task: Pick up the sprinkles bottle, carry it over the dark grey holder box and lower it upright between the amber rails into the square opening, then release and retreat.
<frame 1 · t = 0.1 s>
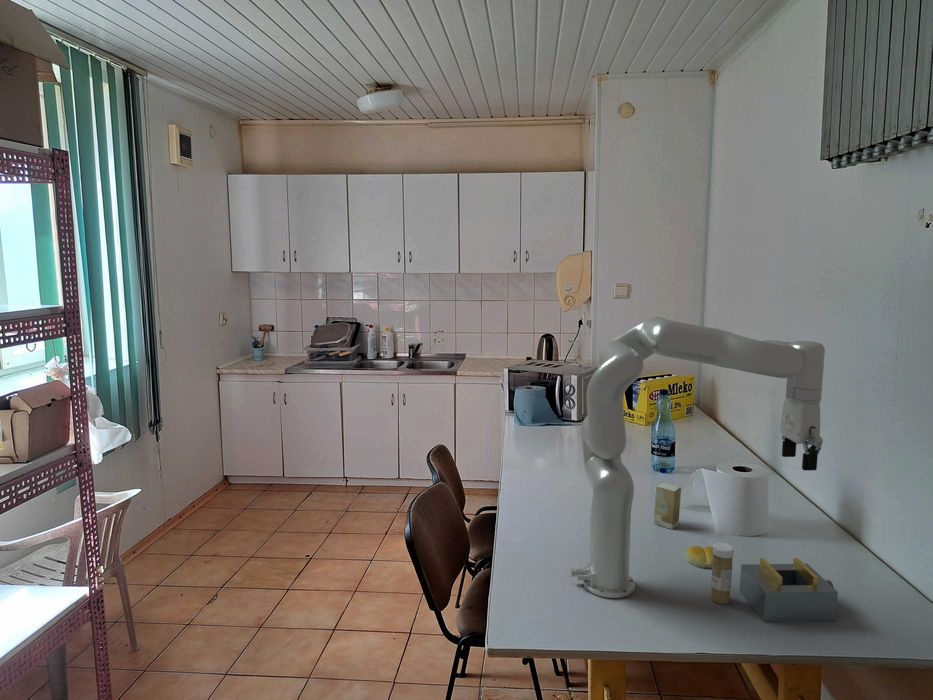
hand: (798, 463, 158), 31 cm above the table, fingers open, 9 cm apart
grey holder box: (785, 605, 153), on the table
sprinkles bottle: (720, 600, 156), on the table
skincare box: (666, 525, 197), on the table
bread roll: (704, 562, 175), on the table
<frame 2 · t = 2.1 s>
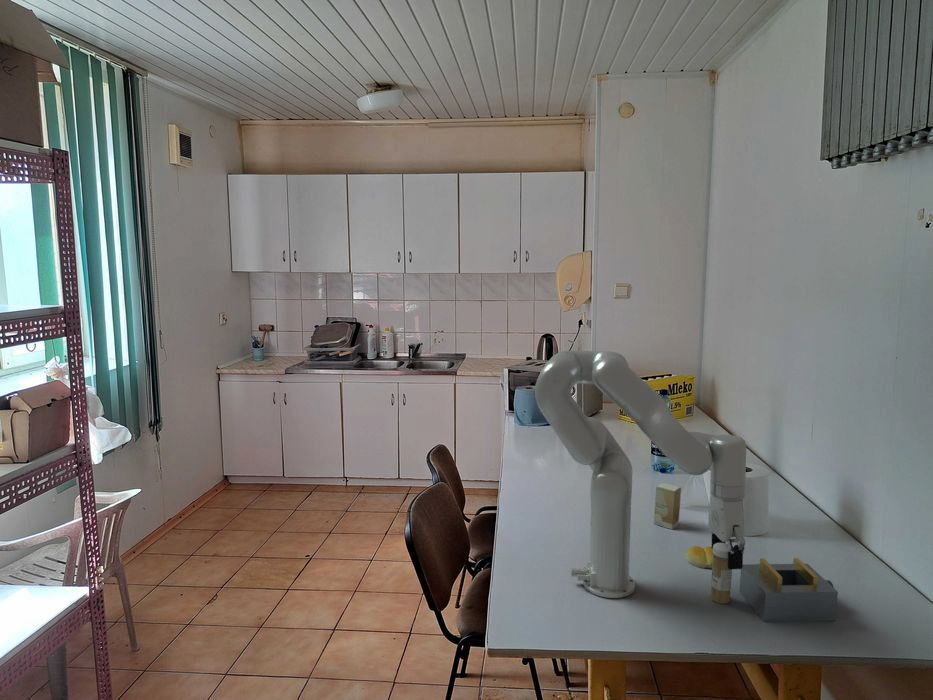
hand: (726, 558, 154), 10 cm above the table, fingers open, 9 cm apart
nothing on the table moved.
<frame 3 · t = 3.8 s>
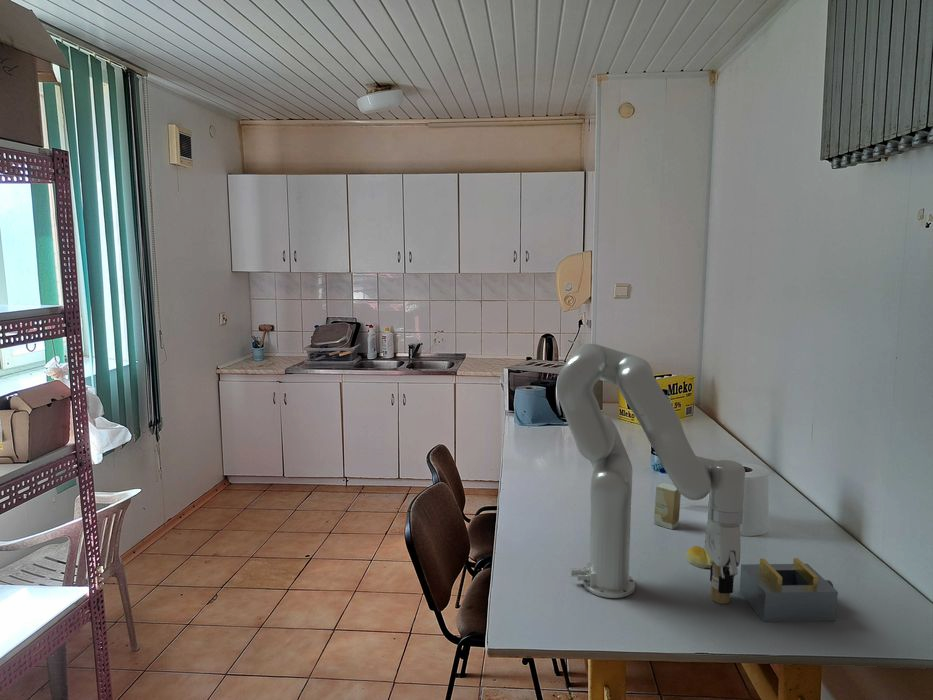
hand: (721, 586, 155), 3 cm above the table, fingers closed on sprinkles bottle, 4 cm apart
sprinkles bottle: (720, 600, 156), on the table, touching gripper
everything else where it was.
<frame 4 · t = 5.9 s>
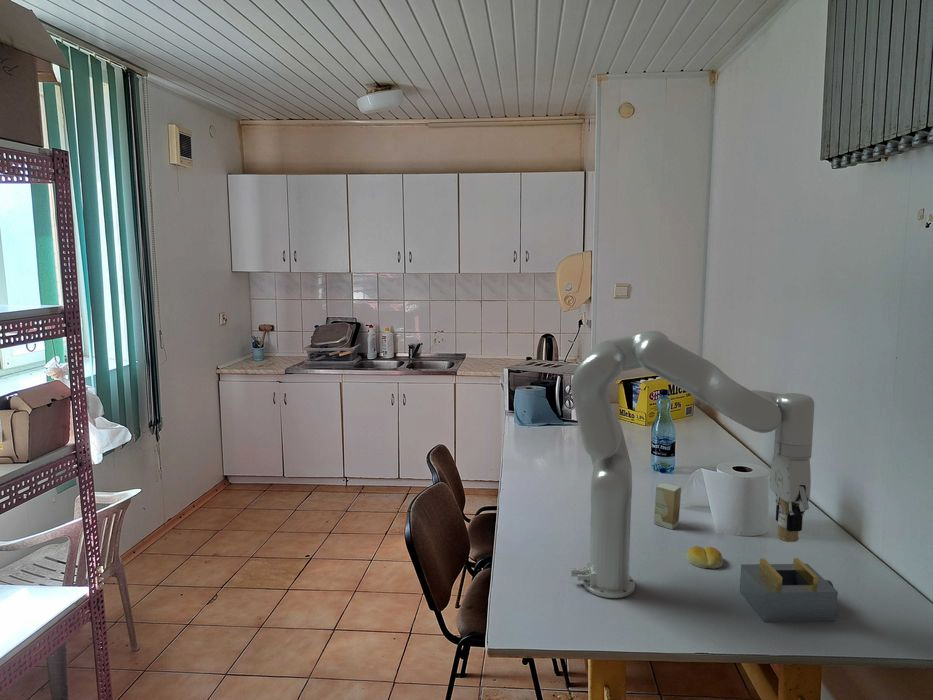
hand: (788, 525, 150), 20 cm above the table, fingers closed on sprinkles bottle, 4 cm apart
sprinkles bottle: (787, 539, 150), point 16 cm above the table, touching gripper
everything else where it was.
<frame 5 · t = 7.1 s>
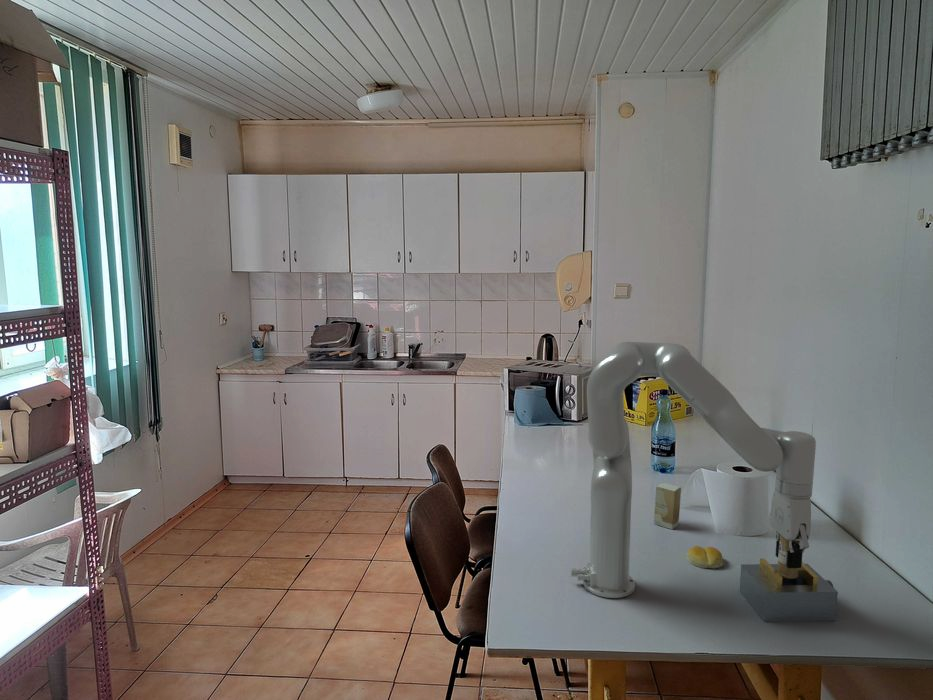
hand: (788, 561, 151), 11 cm above the table, fingers closed on sprinkles bottle, 4 cm apart
sprinkles bottle: (787, 575, 152), point 7 cm above the table, touching gripper
everything else where it was.
when the fingers open (7 cm above the table, at t = 8.1 s): sprinkles bottle drops 2 cm, resting on grey holder box.
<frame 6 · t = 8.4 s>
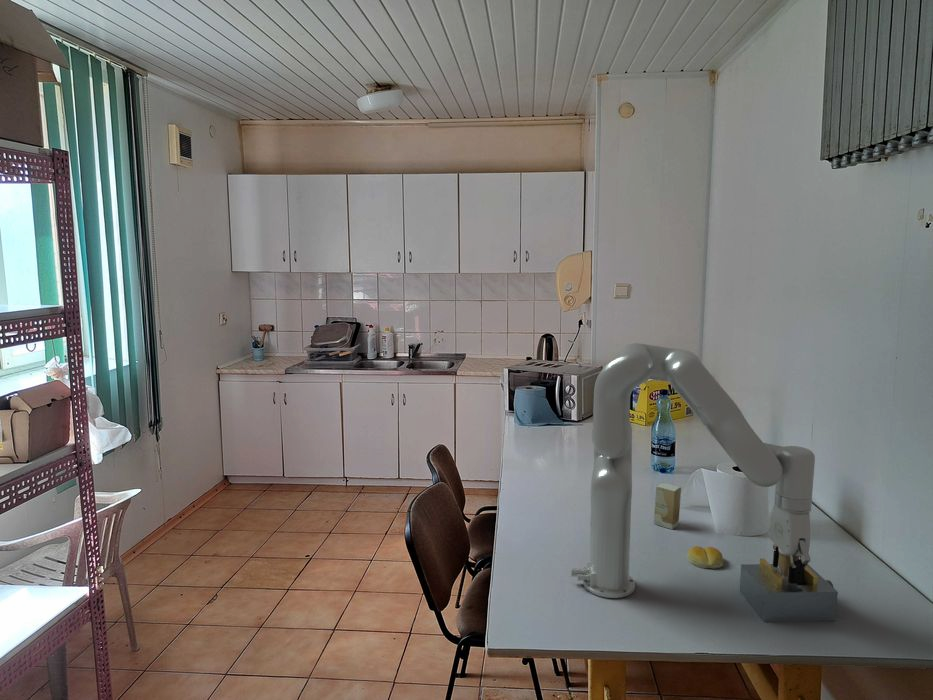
hand: (787, 574, 152), 8 cm above the table, fingers open, 6 cm apart
sprinkles bottle: (785, 600, 152), point 1 cm above the table, touching grey holder box
everything else where it was.
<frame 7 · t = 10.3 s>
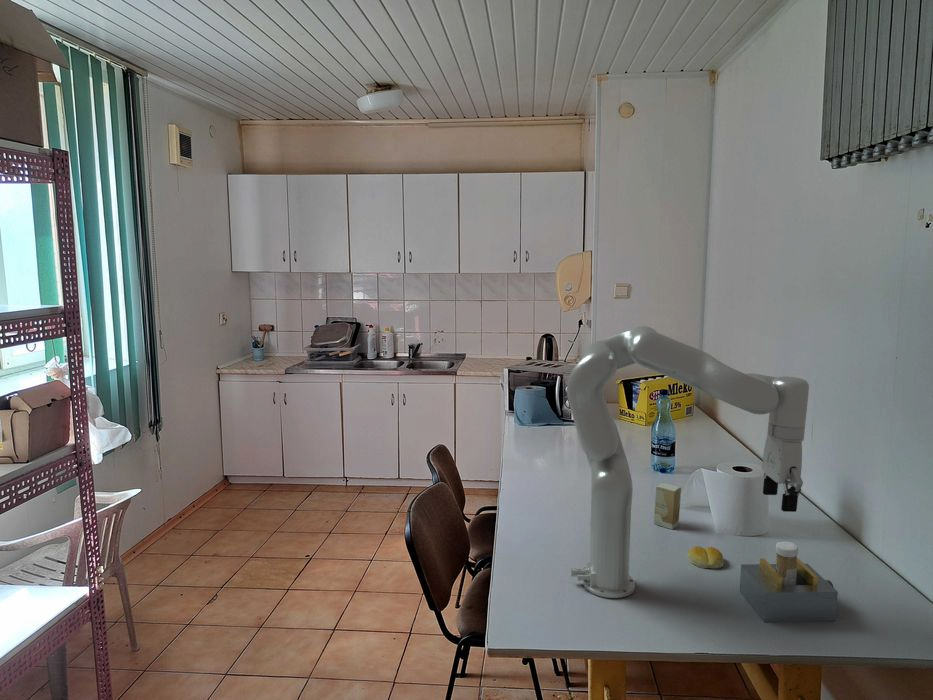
hand: (778, 502, 152), 24 cm above the table, fingers open, 9 cm apart
nothing on the table moved.
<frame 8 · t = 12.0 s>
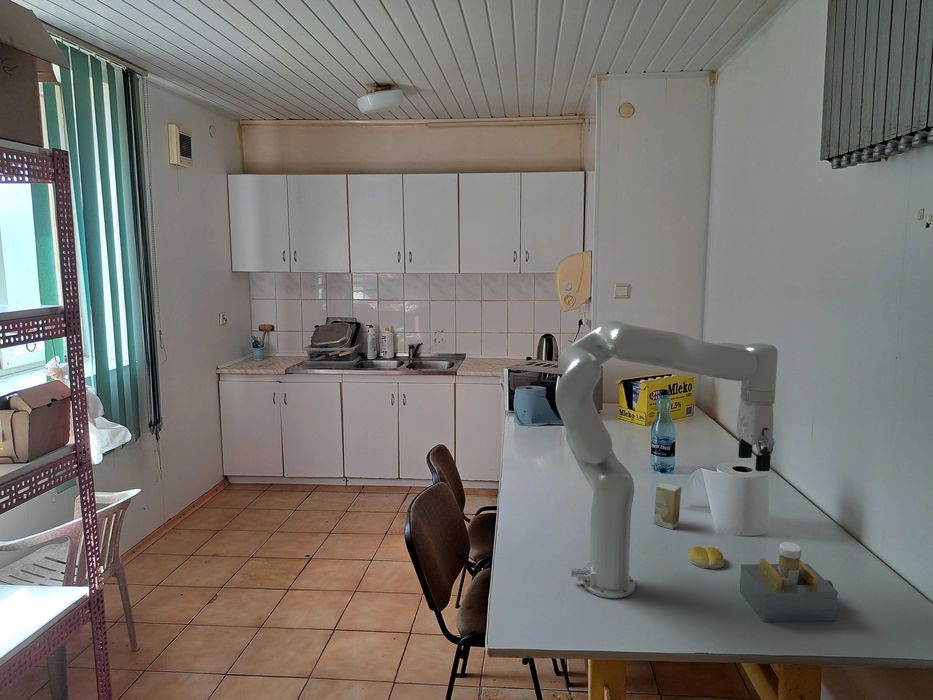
hand: (753, 464, 160), 30 cm above the table, fingers open, 9 cm apart
nothing on the table moved.
at the end: sprinkles bottle 0.2 cm off-centre on the grey holder box, point 1.4 cm above the grey holder box's base; sprinkles bottle tilted 2°; the gripper is holding nothing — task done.
